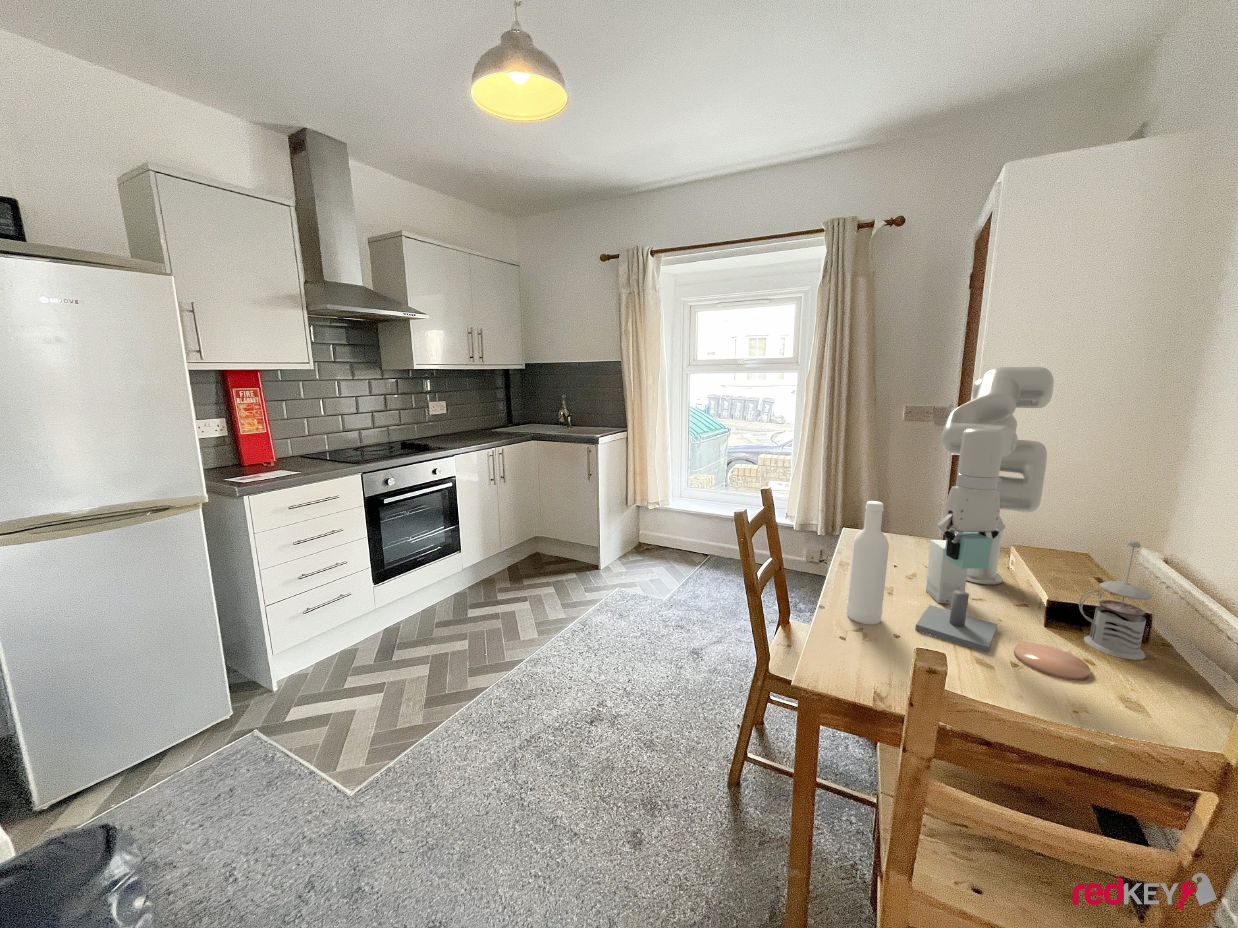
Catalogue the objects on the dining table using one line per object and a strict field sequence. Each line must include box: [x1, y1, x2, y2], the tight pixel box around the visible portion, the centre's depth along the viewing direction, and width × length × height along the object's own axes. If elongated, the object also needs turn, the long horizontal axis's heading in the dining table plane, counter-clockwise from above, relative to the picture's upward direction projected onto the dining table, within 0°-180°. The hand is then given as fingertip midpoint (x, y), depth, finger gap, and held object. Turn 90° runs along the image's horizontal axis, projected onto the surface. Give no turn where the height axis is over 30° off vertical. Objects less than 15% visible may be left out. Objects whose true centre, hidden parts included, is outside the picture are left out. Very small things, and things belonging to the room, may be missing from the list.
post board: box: [915, 590, 998, 654], centre depth 113 cm, size 14×14×10 cm
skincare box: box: [925, 539, 967, 605], centre depth 130 cm, size 8×7×16 cm
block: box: [944, 531, 992, 569], centre depth 111 cm, size 6×6×7 cm
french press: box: [1078, 540, 1153, 660], centre depth 105 cm, size 10×12×25 cm
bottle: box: [846, 500, 890, 626], centre depth 118 cm, size 8×8×30 cm
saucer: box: [1013, 642, 1091, 681], centre depth 101 cm, size 12×12×1 cm
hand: (966, 556), depth 111 cm, fingers closed on block, 5 cm apart
